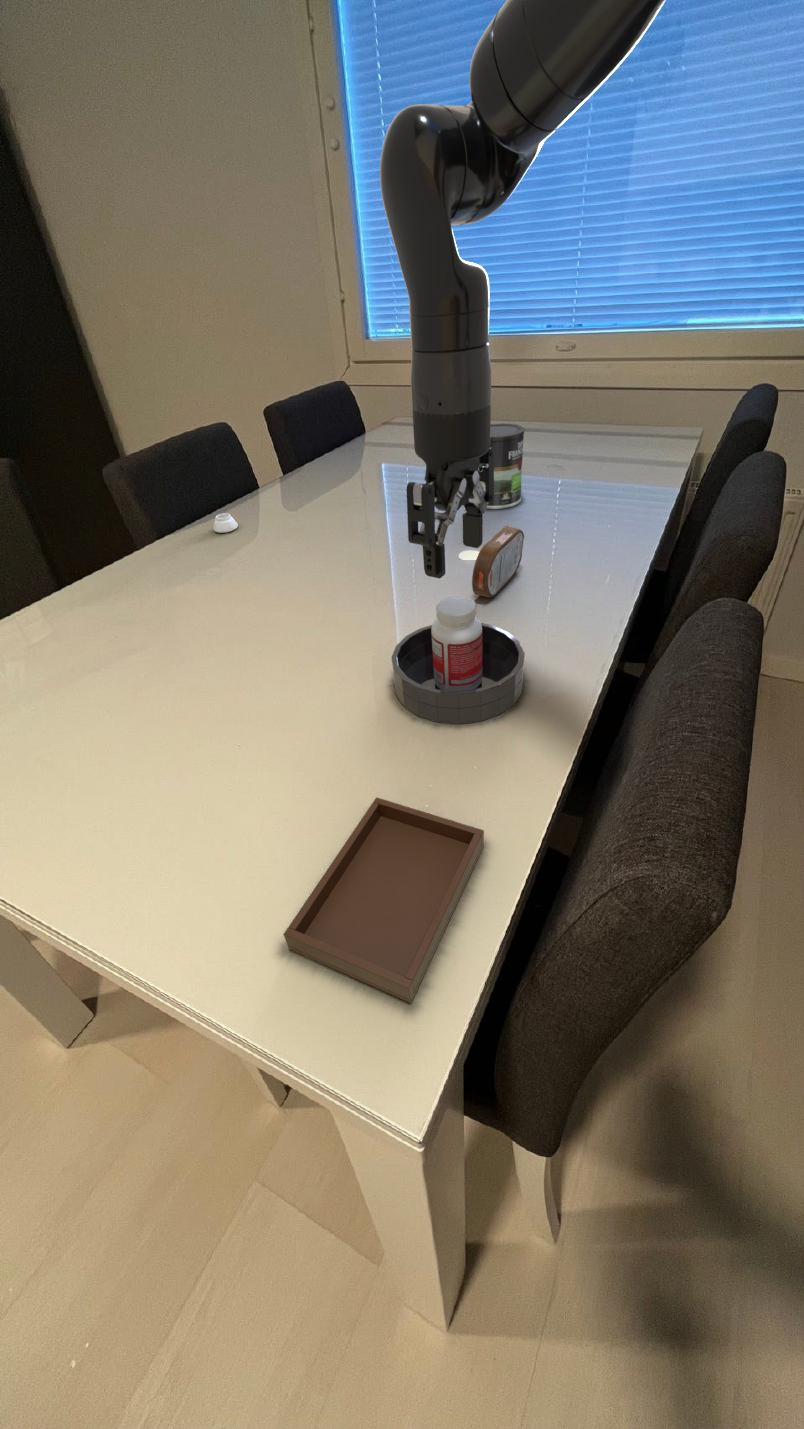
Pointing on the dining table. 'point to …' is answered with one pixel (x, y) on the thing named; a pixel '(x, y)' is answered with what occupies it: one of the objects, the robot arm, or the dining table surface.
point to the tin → (497, 561)
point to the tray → (388, 897)
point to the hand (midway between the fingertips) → (454, 560)
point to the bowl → (466, 705)
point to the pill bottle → (457, 645)
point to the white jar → (224, 523)
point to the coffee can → (506, 464)
